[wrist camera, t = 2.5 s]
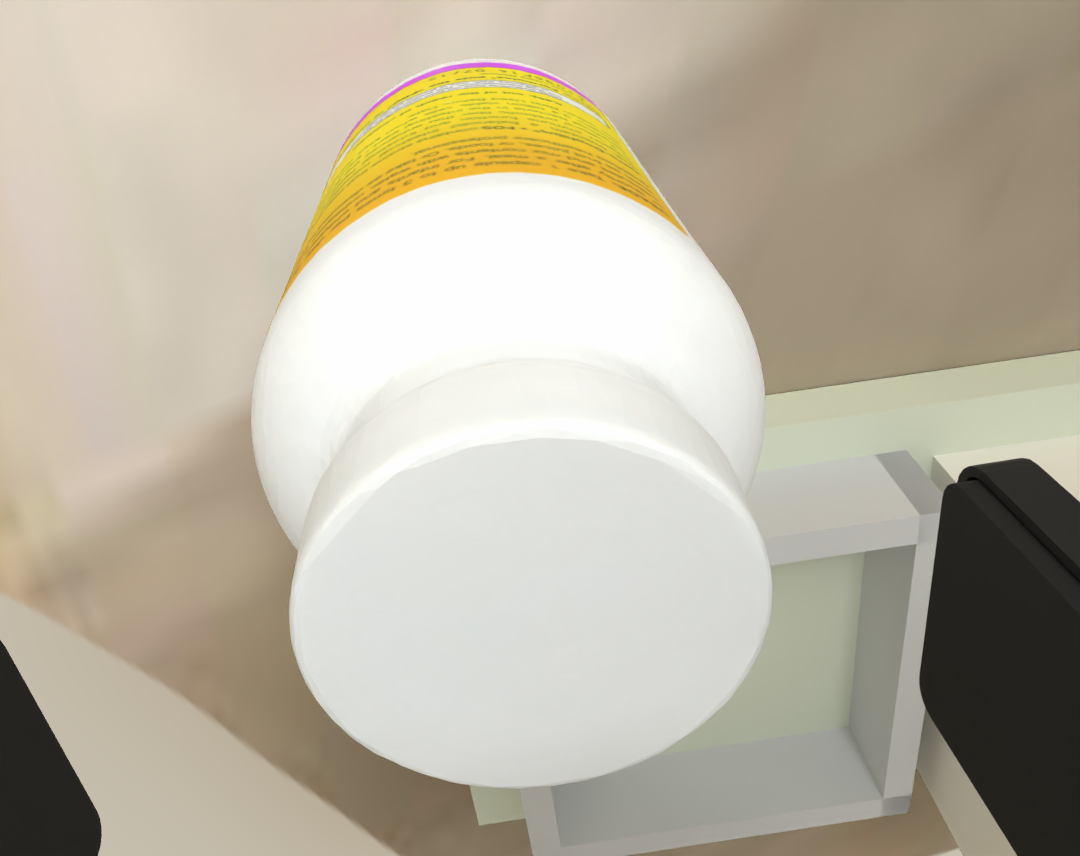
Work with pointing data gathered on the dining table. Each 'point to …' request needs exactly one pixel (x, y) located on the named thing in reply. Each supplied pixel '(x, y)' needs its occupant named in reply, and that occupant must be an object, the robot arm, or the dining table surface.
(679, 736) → the supplement bottle
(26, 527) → the dining table surface
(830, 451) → the square frame tray
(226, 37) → the dining table surface
